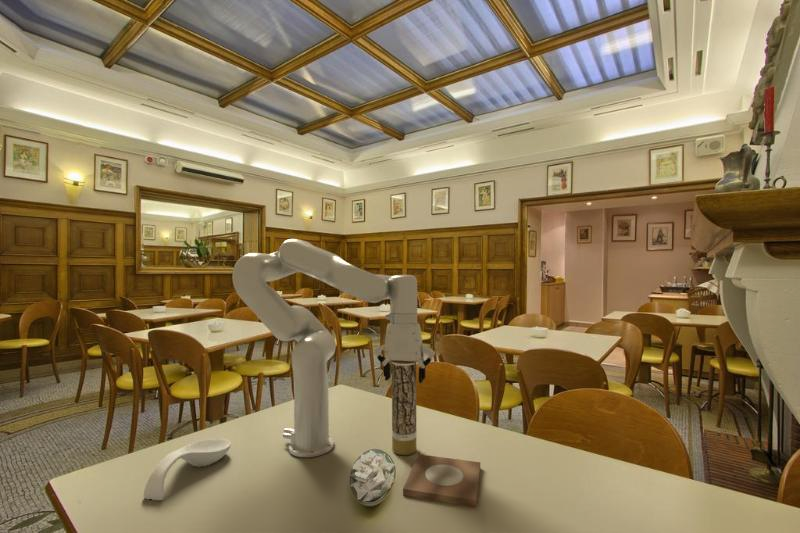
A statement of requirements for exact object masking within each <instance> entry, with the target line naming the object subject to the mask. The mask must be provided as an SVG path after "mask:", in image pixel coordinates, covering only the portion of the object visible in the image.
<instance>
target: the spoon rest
mask: <svg viewBox="0 0 800 533" xmlns="http://www.w3.org/2000/svg"><path fill="white" fill-rule="evenodd" d="M231 445H232V442H231V441H230V440H229V439H225V438H209V439H207V438H206V439H202V440H198V441H194V442H191V443H189V444H187V445H186V444H185V445H184V446H182V447H181V448H179V449H176V450H173V451H171V452H170V453H168V454H167V455H165V456H164V457H163V458H162V459H161V461H159V462H158V464H157V465H156V466H155V468H154V469H153V471H152V472H151V474H150V475H149V477H148V480H147V482H146V484H145V487H144V491H143V499H144V498H146V499H145V500H149V499H152V500H151V501H163V500H164V498H165V496H164V494H165V493H164V487H165V486H164V485H165V479H166V477H167V474H168V473H169V470H170V469H171V468H172V467H173V466H174V464H175V463H176V462H177V461H178V460H180V459H182V460H183V461H184V462H186V463H187V464H189V465H192V466H193V467H195V466H197V467H196V468H201V467H200V466H204V467H207V466H206V465H208V466H210V465H209V464H211V465H213V464H215V463H217V462H218V461H219V460H221V459H222V458H223V457H224V456H225V455H226V454H227V453H228V451H229V450H230V448H231ZM214 462H215V463H214ZM212 463H213V464H212Z"/></svg>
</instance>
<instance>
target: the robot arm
mask: <svg viewBox="0 0 800 533" xmlns="http://www.w3.org/2000/svg"><path fill="white" fill-rule="evenodd" d="M298 272H299V273H302V274H304V275H306V276H309V277H311V278H314V279H316V280H317V281H321V282H323V283H325V284H327V285H328V286H331V287H333V288H335V289H337V290H339V291H341V292H342V293H345V294H347V295H350V296H352V297H354V298H357V299H358V300H359V299H360V300H361V301H365V302H368V303H372V304H376V303H379V302H381V301H384V300H390V303H389V304H390V305H389V306H390V313H389V314H386V315H385V319H386V320H388V321H389V323H387V326H386V332H385V340H384V341H385V342H384V344H381V345H380V346H378V347H376V348H375V349H374V350H373V352H374V353H375V355H376V357H377V358H376V359H377V360H378V361H379V362H380V363H381V365H382V367H383V377H384V380H385V381H388V380H389V379H392V364H391V363H390V362H392V361H406V362H416V364H417V365H419V368H418V383H419V384H422V383H423V381H424V380H425V379H426V367H427V366H428V365H429V364H430V363H431V362H432V360H433V358H434V356H435V354H436V351H434V350H433V349H431V348H430V347H428V346H426V345H424V344H423V336H422V329H421V325H420V323H419V322H418V279H417V277H416V276H415V275H412V274H395V275H386V274H378V273H377V274H376V273H372V272H369V271H368V270H364V269H362V268H359V267H357V266H355V265H354V264H351V263H349V262H346V261H345V260H344V259H343V258H342V257H341V256H340V255H337V254H335V253H333V252H330V251H328V250H325V249H323V248H320V247H318V246H315V245H313V244H312V243H311V242H309V241H306V240H301V239H299V238H298V239H297V238H290V239H286V240H284V242H282V243H281V244H280V246H279V248H278V250H277V251H274V252H272V253H263V252H262V253H261V252H250V253H247V254H245V255H242V256H241V257H240V258H238V260H237V261H236V263H235V264H234V267H233V270H232V283H233V284H232V285H233V288H234V290H235V292H236V294H237V295H238V297H239V298H240V299H241V301H242V302H243V303H244V304H245V305H246V306H247V307H248V308H249V309H250V310H251V311H252V313H254V314H255V316H256V317H257V318H258V319H259V320H260V321H261V323H262V324H263V325H264V326H265V327H266V328H267V330H269V331H270V332H271V334H272V335H273V336H274V337H275V338H276V339H277V340H280V341H282V342H290V341H292V340H295V341H296V343H295V345H294V347H293V349H292V351H291V352H292V353H291V366H292V373H293V388H294V389H293V394H294V396H293V401H294V402H293V405H294V408H293V409H294V411H293V414H294V415H293V416H294V417H293V418H294V420H293V424H294V426H293V427H294V428H290V427H285V428H284V429H283V435H282V438H283V439H287V440H288V439H289V440H290V442H289V444H288V453H290V454H291V455H292V456H295V457H298V458H315V457H320V456H322V455H325V454H327V453H328V452H330V451H332V450H333V448H334V446H335V440H334V438H333V437H332V436H330V435H329V434H330V433H329V432H330V431H329V426H330V425H329V420H330V419H329V414H330V412H329V396H330V394H329V376H328V368H327V362H328V361H329V360H330V359H331V358H332V357H333V356H334V354H335V352H336V348H337V347H336V345H337V344H336V340H335V338H334V336H333V334H331V332H330V331H329V330H328V329H327V328H326V327H325V326H324V325H323V323H321V322H320V320H319V319H318V318H317V317H316V316H315V315H314V313H312V311H310V310H309V309H308V308H306V307H305V306H302V305H290V304H289V303H288V302H287V301H286V300H284V298H283V297H282V296H281V295H280V294H279V292H278V291H277V290H275V289H274V288H273V287H272V286H270V285H269V284H268V283H270V282H274V281H278V280H281V279H283V278H286V277H288V276H291V275H293V274H296V273H298ZM267 282H268V283H267ZM382 351H384V355H383V354H382ZM424 353H426V354H428V356H427V358H426V359H424V357H423V354H424Z"/></svg>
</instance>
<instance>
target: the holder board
mask: <svg viewBox="0 0 800 533" xmlns="http://www.w3.org/2000/svg"><path fill="white" fill-rule="evenodd" d="M480 475H481V461H480V462H479V461H473V460H466V459H465V460H464V459H457V458H456V459H455V458H449V457H443V456H442V457H441V456H434V455H427V454H421V453H419V454H417V457H416V459H415V461H414V464H413V466H412V468H411V471H410V473H409V475H408V477H407V479H406V481H405V483H404V485H403V488H402V496H405V497H411V498H416V499H417V498H418V499H423V500H428V501H429V500H430V501H435V502H440V503H448V504H452V505H459V506H465V507H471V508H477V502H478V495H479V494H478V493H479V486H480V485H479V484H480Z"/></svg>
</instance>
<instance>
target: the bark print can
mask: <svg viewBox="0 0 800 533" xmlns="http://www.w3.org/2000/svg"><path fill="white" fill-rule="evenodd" d="M391 428H392V429H391V438H392V439H391V442H392V444H391V446H392V448H391V450H392V451H393V452H394V453H395V454H397V455H399V456H410V455H412V454H414V453H415V452H416V451H417V362H406V361H391Z"/></svg>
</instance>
